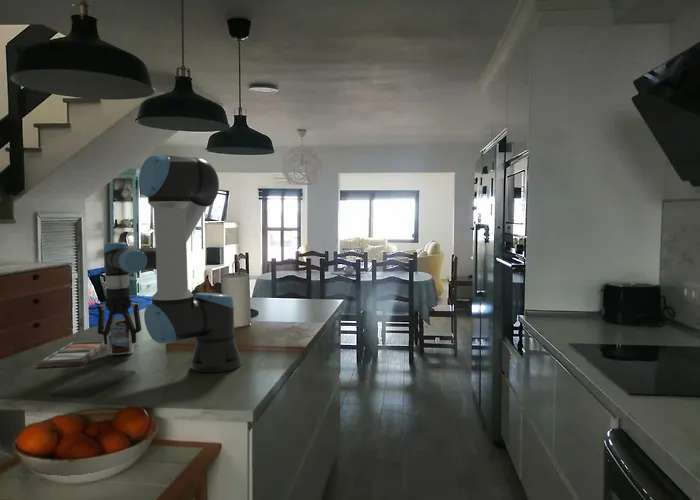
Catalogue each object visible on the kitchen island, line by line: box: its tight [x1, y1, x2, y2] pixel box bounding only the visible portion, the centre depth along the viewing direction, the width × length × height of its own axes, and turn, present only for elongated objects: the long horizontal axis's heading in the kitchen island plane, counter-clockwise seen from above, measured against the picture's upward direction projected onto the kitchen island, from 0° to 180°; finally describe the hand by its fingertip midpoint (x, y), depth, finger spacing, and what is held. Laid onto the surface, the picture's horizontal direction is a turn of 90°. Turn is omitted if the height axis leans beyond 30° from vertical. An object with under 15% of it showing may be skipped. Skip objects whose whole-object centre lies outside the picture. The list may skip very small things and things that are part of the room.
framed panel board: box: [37, 340, 107, 368], centre depth 184 cm, size 26×14×2 cm, turn 7°
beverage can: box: [109, 319, 130, 356], centre depth 184 cm, size 6×7×12 cm
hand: (120, 352), depth 185 cm, fingers closed on beverage can, 6 cm apart
